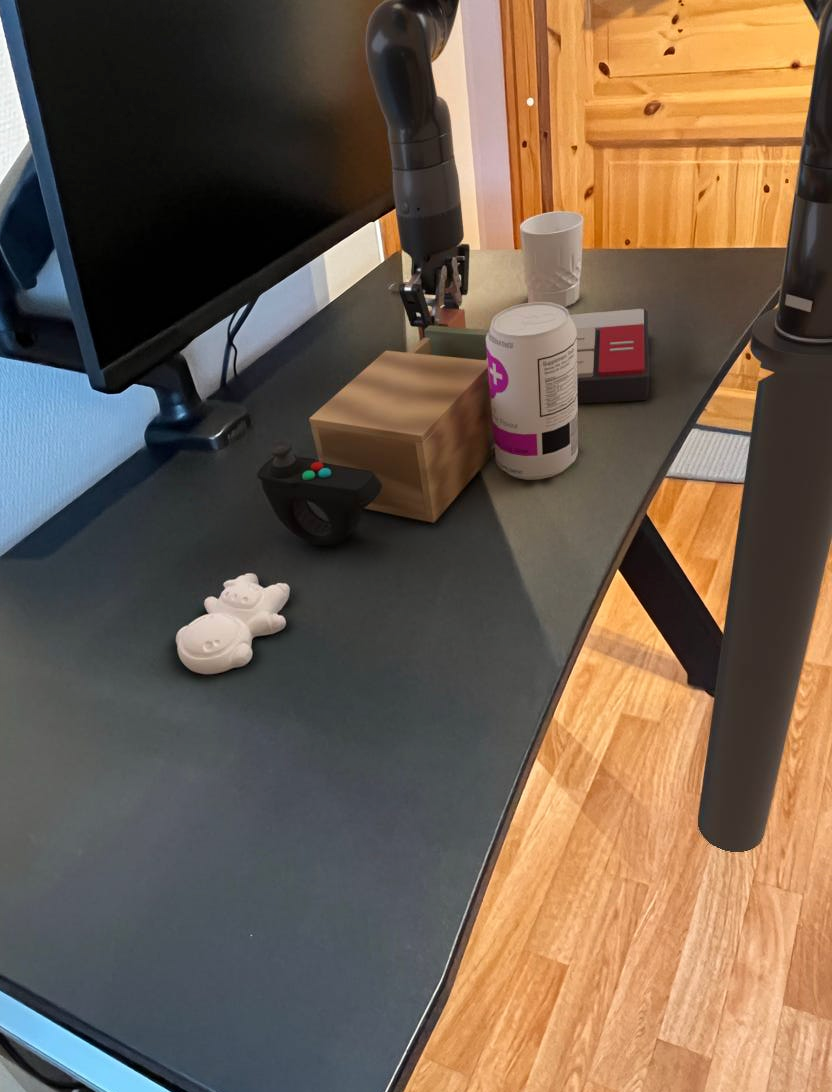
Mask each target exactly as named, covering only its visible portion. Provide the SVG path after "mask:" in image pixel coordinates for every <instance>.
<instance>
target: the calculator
mask: <svg viewBox="0 0 832 1092" xmlns="http://www.w3.org/2000/svg"><path fill="white" fill-rule="evenodd" d="M569 316H570V318H571V319H572V321H573V323H574V324H575V327H576V330H577V403H578V405H581V404H582V405H583V404H601V403H603V404H604V403H618V402H619V403H620V402H635V401H636V402H637V401H638V402H639V401H646V400H648V399H649V394H650V393H649V392H650V391H649V390H650V348H649V347H650V346H649V344H650V343H649V312H648V310H647V309H643V308H635V309H624V310H623V309H622V310H611V311H609V310H608V311H599V312H597V311H596V312H585V313H573V314H569Z"/></svg>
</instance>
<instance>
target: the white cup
mask: <svg viewBox="0 0 832 1092" xmlns="http://www.w3.org/2000/svg"><path fill="white" fill-rule="evenodd" d="M519 235H520V243H521V254H522V257H521V258H522V264H523V275H524V283H525V285H526V293H527V303H534V302H547V303H554V304H558V305H561V306H563V307H564V308H567V307H569V306H571V305H573V304H575V303H576V302H577V301H578V300H579V299H580V285H581V284H580V282H581V279H580V278H581V275H582V263H583V240H584V239H583V237H584V216H583V215H582V214H580V213H578V212H574V211H569V210H559V211H549V212H543V213H539V214H537V215H533V216H531V217H529V218H526V219H525V220H523V221H522V222H521V223H520V225H519Z"/></svg>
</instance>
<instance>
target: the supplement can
mask: <svg viewBox="0 0 832 1092" xmlns="http://www.w3.org/2000/svg"><path fill="white" fill-rule="evenodd" d="M569 315H570V313H569V309H568V308H567V307H563V306H561V305H558V304H554V303H547V302H534V303H528V302H524V303H520V304H515V305H513V306H510V307H508V308H505V309H503V310H501V311H500V312H498V313H497V314H495V315H494V316H493V318H492V319H491V321H490V327H489V329H488V330H489V331H488V334H487V336H486V349H487V361H488V373H489V385H490V397H491V409H492V421H493V433H494V445H495V452H494V455H495V463H496V465H497V466H498V467H499V468H500V469H501V471H503V472H505V473H506V474H508V475H509V476H512V477H513V478H516V479H521V480H528V481H529V480H532V481H533V480H543V479H547V478H552V477H554V476H557V475H559V474H561V473H563V472H564V471H565V470H566V469H567V468H569V467H570V466H571V465H572V464H573V463H574V462H576V460H577V457H578V454H579V422H578V421H579V417H578V416H579V415H578V414H579V413H578V412H579V411H578V409H579V407H578V405H579V404H578V403H577V330H576V327H575V324H574V323H573V321H572V319H571V318H570V316H569Z"/></svg>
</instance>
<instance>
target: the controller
mask: <svg viewBox="0 0 832 1092" xmlns="http://www.w3.org/2000/svg"><path fill="white" fill-rule="evenodd" d="M292 450H293V446H292V444H291V443H290V442H288V441H279V442H276V443H274V444H273V445H271V446H270V448H269V454H270V455H271V456H273V457H271V458H270V459H268V460H266V462H265V463H264V464H263V465H262V466H261V467H260V468H259V469H258V471H257V472H256V477H257V478H258V479H259V480H260V481H261V488H262V491H263V492H264V495H265V496H266V498H267V500H268V502H269V504H270V506H271V508H272V510H273V512H274V513H275V515H276V517H277V518H278V520H279V521H280V522H281V523H282V524H283V525H284V527H285V528H286V529H287V530H288V531H290V532H291V533H292V534H293V535H295V536H296V537H298V538H299V539H301V540H302V541H304V542H306V543H309V544H312V545H317V546H323V547H326V546H333V545H338V544H340V543H341V542H343V541H344V540H346V539H347V538H348V537H350V535H351V534H352V533H353V532H354V531H355V529H356V528H357V526H358V525H359V523H360V521H361V519H362V515H363V509H365V507H366V506H368V505H369V504H370V503H371V502H372V501H373V500H374V499H375V498H376V496H377V495H378V494H379V492H380V490H381V488H382V484H381V482H379V479H378V478H377V477H376V475H375V474H374V473H373V472H372V471H367V470H362V469H356V468H350V467H345V466H339V465H333V464H328V463H322V462H319V460H317V459H315V458H311V457H303V456H298V455H296V454H293V453H291V452H292ZM308 502H310V503H312V504H314V506H317V507H318V508H319V509H320V510H321V511H322V512H323V513H324V514H325V515H326V517H327V519H328V520H326V519H323V517H320V515H318V514H317V513H316V512H314V510H313V509H312V508H311V506H310V504H309V503H308Z"/></svg>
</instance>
